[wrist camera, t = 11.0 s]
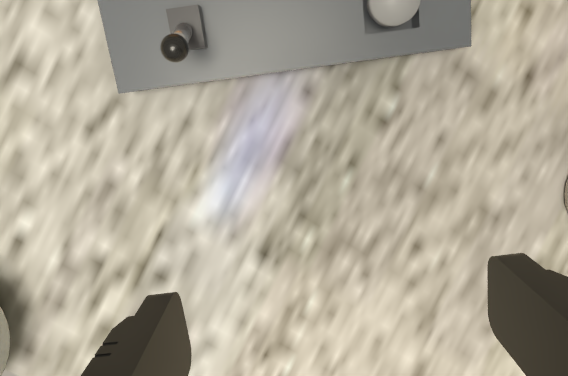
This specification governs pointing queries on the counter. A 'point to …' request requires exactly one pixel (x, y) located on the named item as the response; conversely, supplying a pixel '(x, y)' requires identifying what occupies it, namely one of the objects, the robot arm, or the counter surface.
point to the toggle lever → (177, 43)
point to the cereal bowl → (4, 341)
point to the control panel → (266, 36)
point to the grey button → (392, 11)
